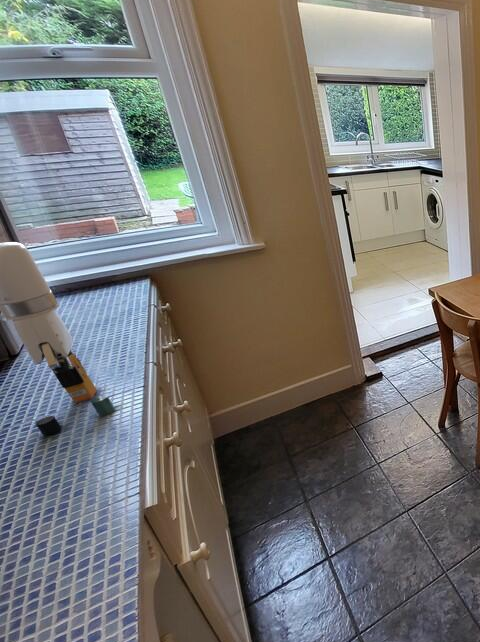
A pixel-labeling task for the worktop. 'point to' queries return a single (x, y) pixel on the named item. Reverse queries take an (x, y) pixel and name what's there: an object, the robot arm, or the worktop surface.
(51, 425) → the black cylinder
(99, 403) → the teal green cylinder
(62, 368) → the robot arm
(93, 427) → the worktop surface
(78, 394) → the supplement box
